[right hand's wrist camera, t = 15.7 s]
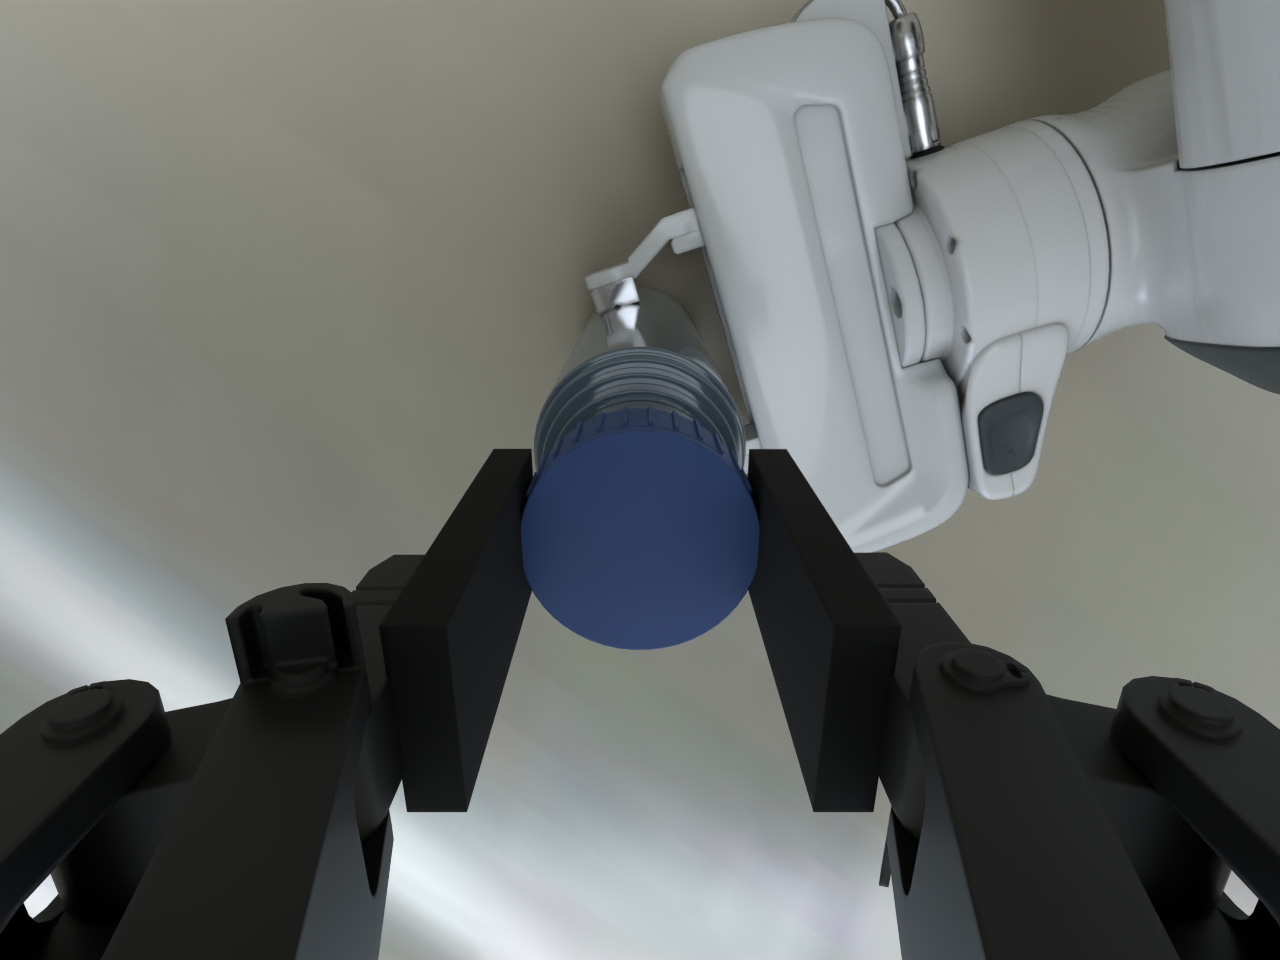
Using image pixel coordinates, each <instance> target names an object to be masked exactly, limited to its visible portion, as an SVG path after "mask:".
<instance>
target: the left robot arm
mask: <svg viewBox="0 0 1280 960" xmlns="http://www.w3.org/2000/svg"><path fill="white" fill-rule="evenodd" d="M885 4H886V5H885ZM886 6H887V7H888V8H889V9H890V11H891V12H892V14H893V16H894V20H892V21H891V22H888V16H887V11H886ZM1164 6H1165V17H1166V28H1167V38H1168V49H1169V59H1170V69H1169V70H1167V71H1164V72H1161V73H1158V74H1155V75H1152V76H1149V77H1146V78H1144V79H1141V80H1139V81H1137V82H1135V83H1133V84H1131V85H1129V86H1127V87H1125V88H1124V89H1122V90H1120V91H1119V92H1117V93H1116V94H1114V95H1113V96H1111V97H1110V98H1109V99H1107V100H1106V101H1104V102H1103V103H1101V104H1099V105H1097V106H1095V107H1093V108H1091V109H1088V110H1085V111H1082V112H1079V113H1074V114H1065V115H1042V116H1037V117H1033V118H1028V119H1024V120H1021V121H1019V122H1016V123H1013V124H1010V125H1007V126H1004V127H1001V128H998V129H995V130H992V131H990V132H987V133H984V134H981V135H978V136H975V137H972V138H969V139H966V140H963V141H961V142H958V143H955V144H952V145H949V146H946V147H944V146H941V143H940V136H939V129H938V125H937V119H936V113H935V107H934V102H933V97H932V93H930V91H931V90H930V86H929V85H928V79H927V78H926V70H925V69H924V67H925V64H924V58H923V53H925V45H924V37H923V32H922V28H921V24H920V22H919V19H918V17H917V14H916V13H914V12H913V13H909V14H907V13H906V10H905V7H904V5H903V4H902V2H901V0H809V1H808V2H807V3H806V4H804V5H803V6H802V7H801V8H800V9H799V11H798V12H797V13H796V14H795V16H794V17H793V19H792V20H791V22H790V23H784V24H779V25H774V26H769V27H764V28H759V29H755V30H750V31H746V32H742V33H738V34H734V35H730V36H727V37H723V38H720V39H716V40H713V41H710V42H707V43H703V44H700V45H697V46H695V47H692V48H689V49H687V50H685V51H683V52H682V53H680V54H679V55H678V56H677V57H676V58H675V59H674V61H673V62H672V64H671V65H670V67H669V69H668V71H667V73H666V75H665V77H664V80H663V82H662V84H661V88H660V96H659V99H660V105H661V109H662V113H663V116H664V120H665V123H666V127H667V130H668V134H669V137H670V141H671V145H672V148H673V152H674V155H675V159H676V162H677V166H678V169H679V173H680V177H681V180H682V184H683V187H684V191H685V194H686V198H687V201H688V205H689V209H686V210H684V211H681V212H678V213H675V214H672V215H670V216H667V217H664V218H661V219H660V220H659V222H658V223H657V224H656V225H655V226H654V227H653V229H652V230H651V231H650V232H649V233H648V234H647V236H646V237H645V238H644V239H643V240H642V242H641V243H640V244H639V245H638V246H637V247H636V249H635V250H634V251H633V252H632V253H631V254H630V256H629V257H628V261H626V262H623V263H620V264H617V265H614V266H611V267H608V268H605V269H602V270H599V271H597V272H594V273H592V274H589V275H587V276H585V277H584V279H585V282H586V285H587V288H588V291H589V294H590V296H591V299H592V302H593V305H594V307H595V310H596V313H597V314H601V313H605V312H607V311H609V310H612V309H613V308H614V307H615V306H616V304H618V305H621V306H623V305H628V304H631V303H634V302H637V301H640V296H639V292H638V289H637V285H636V282H635V278H636V277H637V276H638V275H639V274H640V273H641V272H642V270H643V269H644V268H645V267H646V266H647V265H648V264H649V262H650V261H651V260H652V259H653V258H654V257H655V255H656V254H657V253H658V252H659V251H660V250H661V249H662V247H663V246H664V245H665V244H666V243H667V242H668V241H669V244H670V247H671V250H672V251H673V252H674V253H676V254H680V253H683V252H686V251H689V250H692V249H696V248H699V247H700V248H701V251H702V255H703V258H704V262H705V265H706V269H707V272H708V276H709V280H710V283H711V287H712V290H713V294H714V297H715V301H716V304H717V308H718V311H719V315H720V319H721V322H722V326H723V329H724V333H725V336H726V340H727V343H728V347H729V351H730V354H731V358H732V361H733V365H734V368H735V372H736V375H737V379H738V383H739V386H740V390H741V393H742V397H743V400H744V404H745V407H746V411H747V414H748V418H749V422H750V424H747V425H744V431H745V439H746V457H745V464H744V471H745V474H748V460H749V449H787V450H788V452H789V453H790V455H791V457H792V458H793V460H794V461H795V463H796V464H797V466H798V467H799V469H800V470H801V472H802V474H803V475H804V477H805V478H806V480H807V481H808V483H809V484H810V486H811V487H812V489H813V490H814V492H815V494H816V495H817V497H818V498H819V500H820V501H821V503H822V504H823V506H824V507H825V509H826V511H827V512H828V514H829V515H830V517H831V518H832V520H833V521H834V523H835V524H836V526H837V528H838V529H839V531H840V532H841V534H842V535H843V537H844V538H845V540H846V541H847V543H848V544H849V546H850V548H851V549H852V551H853V552H854V553H872V552H875V551H878V550H881V549H884V548H886V547H889V546H892V545H895V544H897V543H900V542H903V541H905V540H908V539H910V538H913V537H915V536H918V535H920V534H922V533H925V532H927V531H929V530H931V529H933V528H935V527H936V526H938V525H940V524H942V523H943V522H944V521H946V520H947V519H948V518H950V517H951V516H952V515H953V514H954V513H955V512H956V511H957V509H958V508H959V507H960V505H961V504H962V502H963V500H964V498H965V496H966V493H967V489H968V488H969V489H970V490H972V491H973V492H975V493H977V494H979V495H980V496H982V497H984V498H986V499H990V500H998V499H1003V498H1008V497H1011V496H1015V495H1017V494H1020V493H1022V492H1024V491H1025V490H1027V489H1028V488H1029V487H1030V485H1031V484H1032V482H1033V480H1034V478H1035V475H1036V472H1037V468H1038V463H1039V458H1040V453H1041V448H1042V443H1043V439H1044V434H1045V429H1046V425H1047V420H1048V416H1049V412H1050V408H1051V404H1052V400H1053V396H1054V393H1055V389H1056V386H1057V382H1058V379H1059V376H1060V373H1061V370H1062V367H1063V364H1064V361H1065V358H1066V355H1067V354H1070V353H1073V352H1076V351H1078V350H1080V349H1082V348H1084V347H1085V346H1087V345H1089V344H1091V343H1092V342H1094V341H1096V340H1098V339H1099V338H1101V337H1103V336H1105V335H1107V334H1109V333H1111V332H1114V331H1116V330H1119V329H1122V328H1125V327H1129V326H1134V325H1141V324H1155V325H1158V326H1160V327H1161V328H1162V329H1163V330H1164V331H1165V333H1166V335H1165V336H1164V338H1165V339H1166V340H1168V341H1169V342H1170V343H1172V344H1173V345H1175V346H1177V347H1178V348H1180V349H1181V350H1183V351H1185V352H1187V353H1189V354H1190V355H1192V356H1194V357H1196V358H1198V359H1200V360H1202V361H1205V362H1207V363H1209V364H1211V365H1213V366H1215V367H1217V368H1219V369H1221V370H1223V371H1226V372H1228V373H1230V374H1232V375H1234V376H1236V377H1238V378H1240V379H1242V380H1244V381H1246V382H1248V383H1250V384H1252V385H1255V386H1257V387H1259V388H1262V389H1264V390H1267V391H1270V392H1273V393H1277V394H1280V0H1164ZM911 154H912V155H911ZM909 156H912V157H910V160H905V158H906V157H909Z"/></svg>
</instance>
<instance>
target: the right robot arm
mask: <svg viewBox="0 0 1280 960" xmlns="http://www.w3.org/2000/svg"><path fill="white" fill-rule="evenodd" d="M532 478H533V470H532V453H531V449H494V450H493V451H492V453H491V454H490V456H489V457H488V459H487V460H486V462H485V463H484V465H483V466H482V468H481V470H480V471H479V473H478V474H477V476H476V477H475V479H474V480H473V482H472V483H471V485H470V487H469V488H468V490H467V491H466V493H465V494H464V496H463V497H462V499H461V500H460V502H459V504H458V505H457V507H456V508H455V510H454V511H453V513H452V514H451V516H450V517H449V519H448V521H447V522H446V524H445V525H444V527H443V528H442V530H441V531H440V533H439V534H438V536H437V537H436V539H435V541H434V542H433V544H432V545H431V547H430V548H429V550H428V551H427V553H426V554H425V555H393V556H391V557H390V558H388V559H386V560H385V561H383V562H381V563H380V564H378V565H377V566H375V567H373V568H372V569H370V570H369V571H368V573H367V574H366V575H365V576H364V578H363V579H362V580H361V581H360V583H359V584H358V585H357V587H356V591H353V592H352V593H351V592H350V591H349V590H347V589H346V588H345V587H342V586H338V585H333V584H329V583H304V584H298V585H293V586H287V587H282V588H278V589H275V590H272V591H270V592H267V593H264V594H261V595H258V596H256V597H254V598H252V599H250V600H249V601H247V602H245V603H243V604H242V605H240V606H238V607H237V608H236V609H235V610H234V611H233V612H232V613H231V614H230V615H229V616H228V617H227V618H226V619H225V620H226V624H227V628H228V633H229V637H230V641H231V645H232V649H233V653H234V657H235V662H236V666H237V670H238V674H239V678H240V682H241V683H240V685H239V687H238V689H237V691H236V693H235V695H234V697H233V698H231V699H227V700H223V701H219V702H214V703H209V704H204V705H199V706H194V707H189V708H184V709H178V710H173V711H168V712H165V711H164V707H163V704H162V701H161V697H160V694H159V690H157V689H156V688H155V687H154V686H152V685H151V684H150V683H149V682H144V681H137V680H131V679H127V680H117V681H103V682H98V683H93V684H91V685H90V686H87V685H85V686H82V687H79V688H76V689H73V690H71V691H69V692H68V693H66V694H64V695H62V696H59V697H57V698H55V699H52V700H50V701H48V702H46V703H44V704H43V705H41V706H40V707H38V708H36V709H35V710H33V711H32V712H30V713H29V714H27V715H25V716H24V717H22V718H21V719H20V720H18V721H17V722H16V723H15V724H13V725H12V726H11V727H9V728H8V729H7V730H6V731H4V732H3V733H2V734H1V735H0V960H378V956H379V948H380V941H381V933H382V925H383V917H384V910H385V902H386V894H387V886H388V879H389V871H390V863H391V855H392V848H393V840H394V839H393V831H392V824H391V818H390V812H389V808H390V805H391V803H392V801H393V798H394V796H395V794H396V791H397V789H398V787H399V784H400V782H401V780H402V782H403V788H404V795H405V801H406V808H407V812H467V810H468V806H469V803H470V800H471V796H472V793H473V789H474V786H475V782H476V779H477V776H478V772H479V769H480V765H481V762H482V759H483V755H484V752H485V748H486V745H487V742H488V738H489V735H490V731H491V728H492V725H493V721H494V718H495V714H496V711H497V708H498V704H499V701H500V697H501V694H502V691H503V687H504V684H505V680H506V677H507V674H508V670H509V667H510V663H511V660H512V657H513V653H514V650H515V646H516V643H517V640H518V636H519V633H520V629H521V626H522V623H523V619H524V616H525V612H526V609H527V606H528V602H529V599H530V595H531V592H532V589H531V587H530V585H529V583H528V581H527V578H526V576H525V573H524V570H523V557H522V541H521V518H522V513H523V510H524V507H525V505H526V502H527V499H528V497H526V496H525V495H526V493H527V490H528V488H529V486H530V483H531V481H532ZM748 481H749V483H750V486H751V488H752V490H753V493H750V494H751V497H752V499H753V502H754V504H755V507H756V510H757V513H758V518H759V522H760V531H759V547H758V562H757V570H756V573H755V576H754V578H753V581H752V583H751V585H750V587H749V589H748V591H749V594H750V597H751V601H752V604H753V608H754V611H755V614H756V618H757V621H758V625H759V628H760V631H761V635H762V638H763V642H764V645H765V648H766V652H767V655H768V659H769V662H770V665H771V669H772V672H773V676H774V679H775V682H776V686H777V689H778V693H779V696H780V699H781V703H782V706H783V710H784V713H785V716H786V720H787V723H788V727H789V730H790V733H791V737H792V740H793V744H794V747H795V750H796V754H797V757H798V761H799V764H800V767H801V771H802V774H803V778H804V781H805V784H806V788H807V791H808V795H809V798H810V801H811V805H812V808H813V812H873V811H874V804H875V798H876V791H877V785H878V778H879V777H880V780H881V782H882V784H883V787H884V789H885V791H886V794H887V796H888V798H889V801H890V803H891V805H892V806H891V812H890V818H889V824H888V830H887V836H886V842H885V848H884V854H883V861H882V867H881V873H880V881H879V886H884V887H889V881H890V875H891V877H892V885H893V892H894V900H895V908H896V916H897V923H898V931H899V939H900V947H901V954H902V960H1280V729H1278V728H1277V727H1276V726H1274V725H1273V724H1272V723H1271V722H1269V721H1268V720H1267V719H1265V718H1264V717H1263V716H1261V715H1260V714H1259V713H1257V712H1255V711H1254V710H1252V709H1251V708H1249V707H1248V706H1246V705H1244V704H1243V703H1241V702H1240V701H1238V700H1236V699H1235V698H1232V697H1230V696H1228V695H1225V694H1223V693H1221V692H1218V691H1216V690H1215V689H1213V688H1212V687H1209V686H1207V685H1204V684H1200V683H1197V682H1194V683H1192V682H1191V681H1190V680H1185V679H1180V678H1167V677H1157V676H1150V677H1143V678H1137V679H1133V680H1131V681H1130V682H1129V683H1128V684H1126V685H1125V686H1124V687H1123V689H1122V692H1121V696H1120V699H1119V703H1118V706H1117V709H1113V708H1108V707H1103V706H1098V705H1093V704H1088V703H1082V702H1077V701H1072V700H1067V699H1062V698H1058V697H1054V696H1050V695H1046V694H1045V692H1044V690H1043V688H1042V686H1041V684H1040V682H1039V681H1038V680H1037V678H1036V677H1035V676H1034V675H1033V674H1032V672H1031V671H1030V670H1029V669H1028V668H1027V667H1025V666H1024V665H1022V664H1021V663H1019V662H1018V661H1016V660H1015V659H1013V658H1012V657H1010V656H1008V655H1006V654H1003V653H1001V652H998V651H996V650H993V649H991V648H989V647H985V646H980V645H976V644H971V643H970V641H969V640H968V639H967V638H966V636H965V635H964V634H963V633H962V631H961V630H960V629H959V628H958V626H957V625H956V624H955V622H954V621H953V620H952V619H951V617H950V616H949V615H948V614H947V612H946V611H945V610H944V608H943V607H942V606H941V605H940V603H936V598H935V597H934V596H933V595H932V593H931V592H930V591H929V589H928V588H925V584H924V583H923V582H922V581H921V579H920V578H919V577H918V575H917V574H916V573H915V572H914V570H913V569H912V568H911V567H910V566H908V565H906V564H905V563H903V562H902V561H900V560H898V559H897V558H895V557H893V556H892V555H890V554H888V553H854V552H853V551H852V549H851V548H850V546H849V544H848V543H847V541H846V540H845V538H844V537H843V535H842V534H841V532H840V531H839V529H838V528H837V526H836V524H835V523H834V521H833V520H832V518H831V517H830V515H829V514H828V512H827V511H826V509H825V507H824V506H823V504H822V503H821V501H820V500H819V498H818V497H817V495H816V494H815V492H814V490H813V489H812V487H811V486H810V484H809V483H808V481H807V480H806V478H805V477H804V475H803V474H802V472H801V470H800V469H799V467H798V466H797V464H796V463H795V461H794V460H793V458H792V457H791V455H790V453H789V452H788V450H787V449H749V460H748ZM1231 870H1232V871H1233V872H1234V873H1235V874H1236V875H1237V876H1238V877H1239V878H1240V879H1241V880H1242V881H1243V882H1244V884H1245V885H1246V886H1247V887H1248V888H1249V889H1250V890H1251V891H1252V892H1253V893H1254V894H1255V895H1256V896H1257V897H1258V899H1259V900H1258V902H1257V904H1256V907H1255V909H1254V911H1253V913H1252V914H1251V915H1250V916H1248V915H1246V914H1245V913H1244V912H1243V911H1242V910H1241V909H1240V908H1238V907H1237V906H1236V905H1235V904H1234V903H1233V902H1232V900H1231V899H1230V898H1229V897H1228V896H1227V895H1226V894H1225V893H1224V891H1223V890H1224V888H1225V885H1226V883H1227V880H1228V878H1229V875H1230V873H1231ZM49 874H51V876H52V879H53V881H54V884H55V886H56V889H57V891H58V895H57V896H56V897H55V898H54V900H53V901H52V902H51V903H50V904H49V905H48V906H47V907H46V908H45V909H44V910H43V911H42V912H40V913H39V914H38V915H37V916H36V917H34V918H31V917H30V916H29V915H28V912H27V910H26V908H25V905H24V901H25V900H26V899H27V898H28V897H29V896H30V895H31V894H32V893H33V892H34V891H35V890H36V889H37V887H38V886H39V885H40V884H41V883H42V882H43V881H44V880H45V879H46V878H47V877H48V876H49Z"/></svg>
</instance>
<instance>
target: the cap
mask: <svg viewBox="0 0 1280 960" xmlns="http://www.w3.org/2000/svg"><path fill="white" fill-rule="evenodd" d="M750 493H753V490H752V488H751V486H750V483H749V481H748V478H747V476H746V474H745V471H744V469H740V466H739V464H738V462H737V459H736V457H735V454H734V452H733V451H732V449H731V450H729V451H728V449H727V448H726V447H725V445H724V444H723V443H722V442H721V441H720V439H719V436H718V434H717V433H714V434H712V433H711V432H709V431H708V430H707V429H705V428H704V427H702V426H701V425H700V424H699V421H698V420H696V419H695V420H694V422H693V421H692V420H690V419H687V418H685V417H682V416H680V415H677V412H676V411H674V410H672V413H670V412H666V411H662V410H654V409H652V406H648V409H628V407H627V406H626V407H623V410H618V411H614V412H610V413H606V414H604V412H600V413H599V416H598V417H595V418H593V419H590V420H588V421H586V422H585V423H582V422H581V421H580V422H579V423H578V424H577V427H576V428H575V429H573V430H572V431H571V432H569V433H568V434H567V435H566V436H564V437H563V436H562V435H561V436H560V437H559V439H558V441H557V444H556V445H555V446H554V448H553V449H552V450H551V452H550V453H549V454H548V453H545V455H544V457H543V459H542V462H541V464H540V467H539V469H538V471H537V473H536V472H535V474H534V476H533V478H532V481H531V483H530V486H529V488H528V490H527V493H526V495H525V496H526V497H528V499H527V502H526V505H525V507H524V510H523V513H522V518H521V541H522V557H523V570H524V573H525V576H526V578H527V581H528V583H529V585H530V587H531V589H532V590H533V592H534V594H535V596H536V597H537V598H538V600H539V601H540V603H541V604H542V605H543V607H544V608H545V609H546V610H547V611H548V612H549V613H550V614H551V615H552V616H553V617H554V618H555V619H556V620H558V621H559V622H560V623H561V624H562V625H564V626H565V627H567V628H568V629H570V630H571V631H573V632H574V633H576V634H578V635H580V636H582V637H584V638H586V639H588V640H590V641H593V642H596V643H599V644H602V645H606V646H610V647H615V648H620V649H629V650H651V649H660V648H666V647H670V646H674V645H678V644H681V643H684V642H686V641H689V640H692V639H694V638H696V637H698V636H700V635H702V634H704V633H706V632H707V631H709V630H710V629H712V628H713V627H715V626H716V625H718V624H719V623H720V622H721V621H722V620H724V619H725V618H726V617H727V616H728V615H729V614H730V613H731V612H732V611H733V610H734V609H735V608H736V606H737V605H738V604H739V603H740V601H741V600H742V598H743V597H744V595H745V594H746V592H747V590H748V589H749V587H750V585H751V583H752V581H753V578H754V576H755V573H756V570H757V562H758V547H759V531H760V522H759V518H758V513H757V510H756V507H755V504H754V502H753V499H752V497H751V494H750Z"/></svg>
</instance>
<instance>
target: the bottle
mask: <svg viewBox="0 0 1280 960" xmlns="http://www.w3.org/2000/svg"><path fill="white" fill-rule="evenodd" d="M637 289H638V292H639V296H640V301H637V302H634V303H631V304H628V305H623V306H621V305H618V304H616V306H615V307H614V308H613V309H612V310H609V311H607V312H605V313H601V314H597V313H596V310H595V311H594V312H593V314H592V315H591V317H590V319H589V321H588V322H587V324H586V326H585V328H584V330H583V332H582V334H581V336H580V338H579V339H578V341H577V343H576V345H575V347H574V349H573V351H572V353H571V355H570V356H569V358H568V360H567V362H566V364H565V366H564V368H563V370H562V371H561V373H560V375H559V377H558V379H557V381H556V383H555V385H554V387H553V388H552V390H551V392H550V394H549V396H548V398H547V400H546V402H545V404H544V406H543V408H542V410H541V413H540V416H539V419H538V422H537V425H536V431H535V437H534V457H535V465H536V472H537V471H538V469H539V467H540V464H541V462H542V459H543V457H544V455H545V453H548V454H549V453H550V452H551V450H552V449H553V448H554V446H555V445H556V444H557V441H558V439H559V437H560V436H561V435H562V436H563V437H564V436H566V435H567V434H568V433H569V432H571V431H572V430H573V429H575V428H576V427H577V424H578V423H579V422H580V421H581V422H582V423H585V422H586V421H588V420H590V419H593V418H595V417H598V416H599V413H600V412H604V414H606V413H610V412H614V411H618V410H623V407H626V406H627V407H628V409H648V406H652V409H654V410H662V411H666V412H670V413H672V410H674V411H676V412H677V415H680V416H682V417H685V418H687V419H690V420H692V421H693V422H694V420H695V419H696V420H698V421H699V424H700V425H701V426H702V427H704V428H705V429H707V430H708V431H709V432H711V433H712V434H714V433H717V434H718V436H719V439H720V441H721V442H722V443H723V444H724V445H725V447H726V448H727V449H728V451H729V450H731V449H732V451H733V452H734V454H735V457H736V459H737V462H738V464H739V466H740V469H744V464H745V457H746V439H745V431H744V426H743V423H742V419H741V415H740V413H739V411H738V408H737V406H736V404H735V402H734V400H733V398H732V396H731V394H730V392H729V390H728V389H727V387H726V385H725V383H724V381H723V379H722V377H721V375H720V374H719V372H718V370H717V368H716V366H715V364H714V362H713V360H712V358H711V357H710V355H709V353H708V351H707V349H706V347H705V345H704V343H703V342H702V340H701V338H700V336H699V334H698V332H697V330H696V328H695V326H694V325H693V323H692V321H691V319H690V317H689V316H688V314H687V312H686V311H685V310H684V308H683V307H682V306H681V305H680V304H679V303H678V302H677V301H676V300H675V299H673V298H672V297H670V296H669V295H667V294H665V293H663V292H661V291H658V290H655V289H651V288H642V287H639V288H637Z"/></svg>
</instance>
